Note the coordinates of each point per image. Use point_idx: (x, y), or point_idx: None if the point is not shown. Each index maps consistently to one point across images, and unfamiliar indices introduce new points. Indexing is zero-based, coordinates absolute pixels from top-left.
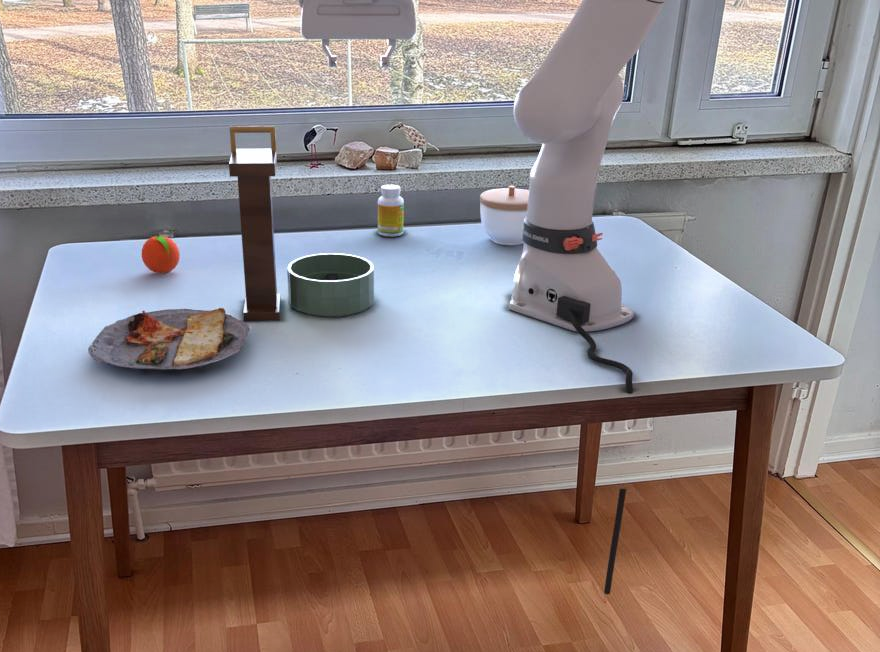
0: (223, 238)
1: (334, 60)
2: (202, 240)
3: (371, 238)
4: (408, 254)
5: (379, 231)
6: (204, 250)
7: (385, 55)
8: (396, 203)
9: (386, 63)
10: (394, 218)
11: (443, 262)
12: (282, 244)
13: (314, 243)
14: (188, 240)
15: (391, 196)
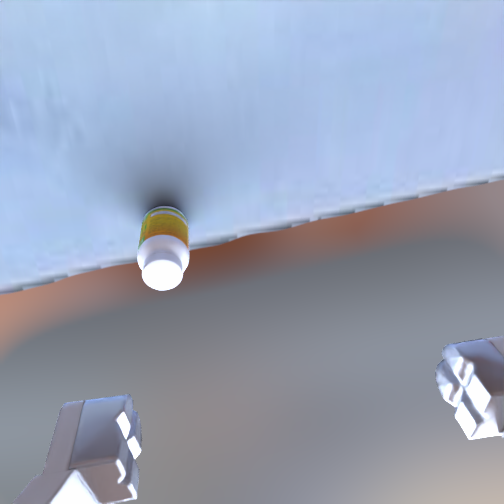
0: (444, 177)
1: (487, 371)
2: (478, 165)
3: (197, 196)
4: (114, 106)
5: (184, 216)
6: (487, 112)
7: (93, 497)
8: (149, 241)
9: (81, 415)
10: (154, 223)
11: (25, 53)
12: (353, 153)
13: (297, 162)
14: (499, 163)
15: (159, 252)
